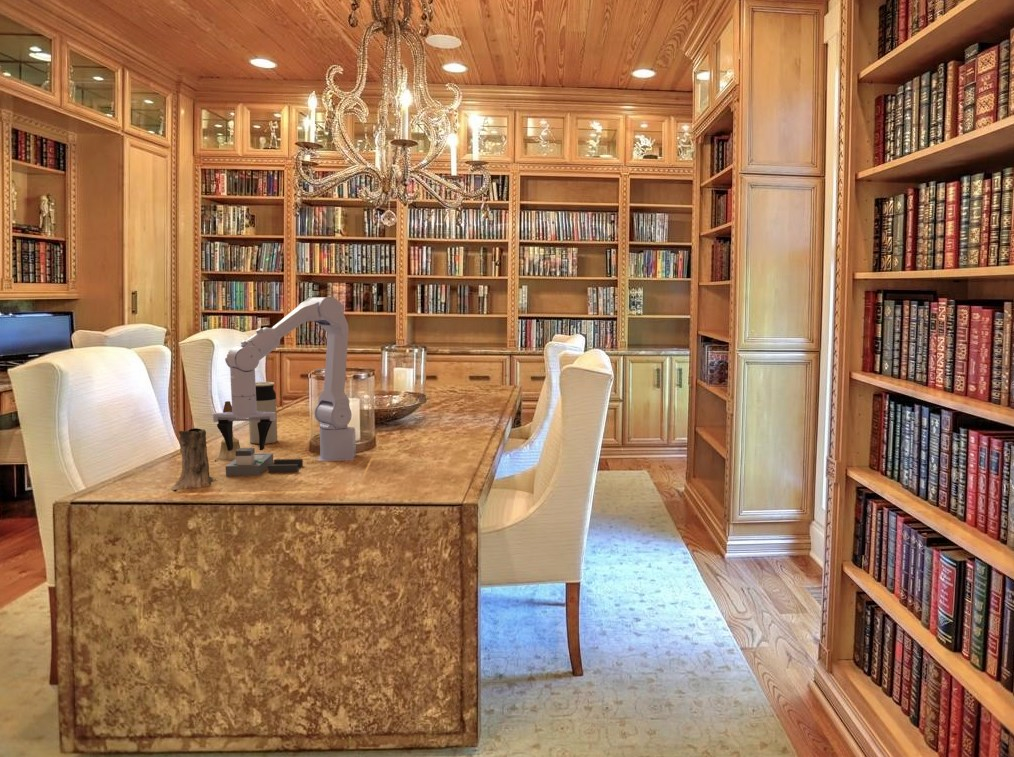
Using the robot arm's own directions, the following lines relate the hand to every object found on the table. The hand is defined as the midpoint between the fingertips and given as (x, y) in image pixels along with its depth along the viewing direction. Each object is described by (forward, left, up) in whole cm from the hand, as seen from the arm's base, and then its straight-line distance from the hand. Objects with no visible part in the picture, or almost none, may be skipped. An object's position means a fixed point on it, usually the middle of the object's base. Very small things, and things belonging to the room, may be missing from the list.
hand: (246, 449), depth 179 cm
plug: (0, +1, -6) cm, 6 cm away
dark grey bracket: (-9, -2, -6) cm, 11 cm away
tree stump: (+9, +11, -7) cm, 15 cm away
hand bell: (+9, -17, -7) cm, 21 cm away
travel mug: (+6, -40, -7) cm, 41 cm away
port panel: (0, -3, -6) cm, 7 cm away
